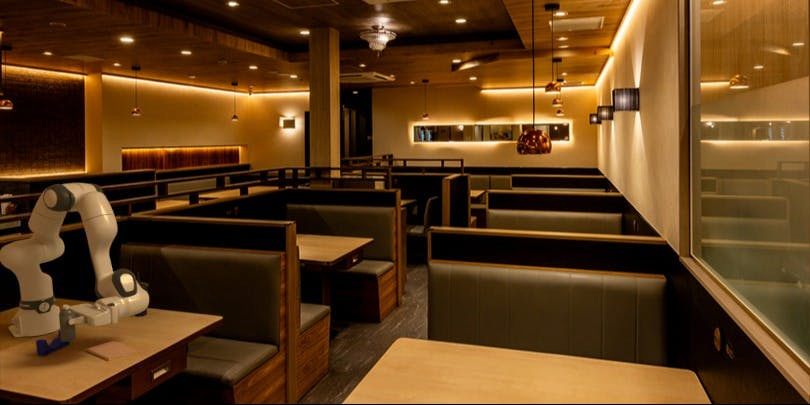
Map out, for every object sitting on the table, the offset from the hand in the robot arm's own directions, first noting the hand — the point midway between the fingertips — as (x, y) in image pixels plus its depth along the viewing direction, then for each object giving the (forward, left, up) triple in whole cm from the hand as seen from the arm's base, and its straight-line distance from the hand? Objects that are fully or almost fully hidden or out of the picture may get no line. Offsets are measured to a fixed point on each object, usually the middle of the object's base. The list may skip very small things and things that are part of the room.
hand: (64, 320), depth 196 cm
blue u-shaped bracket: (-20, +3, -17) cm, 27 cm away
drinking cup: (-33, +45, -16) cm, 58 cm away
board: (0, +15, -16) cm, 22 cm away
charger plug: (0, +1, -7) cm, 7 cm away
